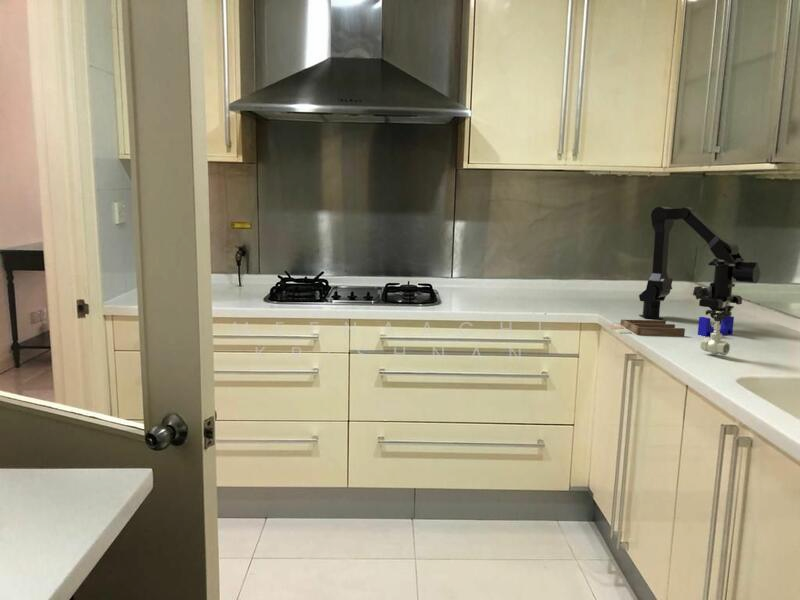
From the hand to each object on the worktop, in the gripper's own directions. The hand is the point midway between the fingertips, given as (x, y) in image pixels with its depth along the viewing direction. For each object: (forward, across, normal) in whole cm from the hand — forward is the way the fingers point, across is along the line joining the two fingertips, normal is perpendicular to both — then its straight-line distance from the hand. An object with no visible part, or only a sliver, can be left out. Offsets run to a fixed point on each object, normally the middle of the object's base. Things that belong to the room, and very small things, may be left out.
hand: (718, 326), depth 217 cm
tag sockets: (+2, +21, -12) cm, 24 cm away
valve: (+2, +37, +16) cm, 40 cm away
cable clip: (+2, +8, +2) cm, 8 cm away
